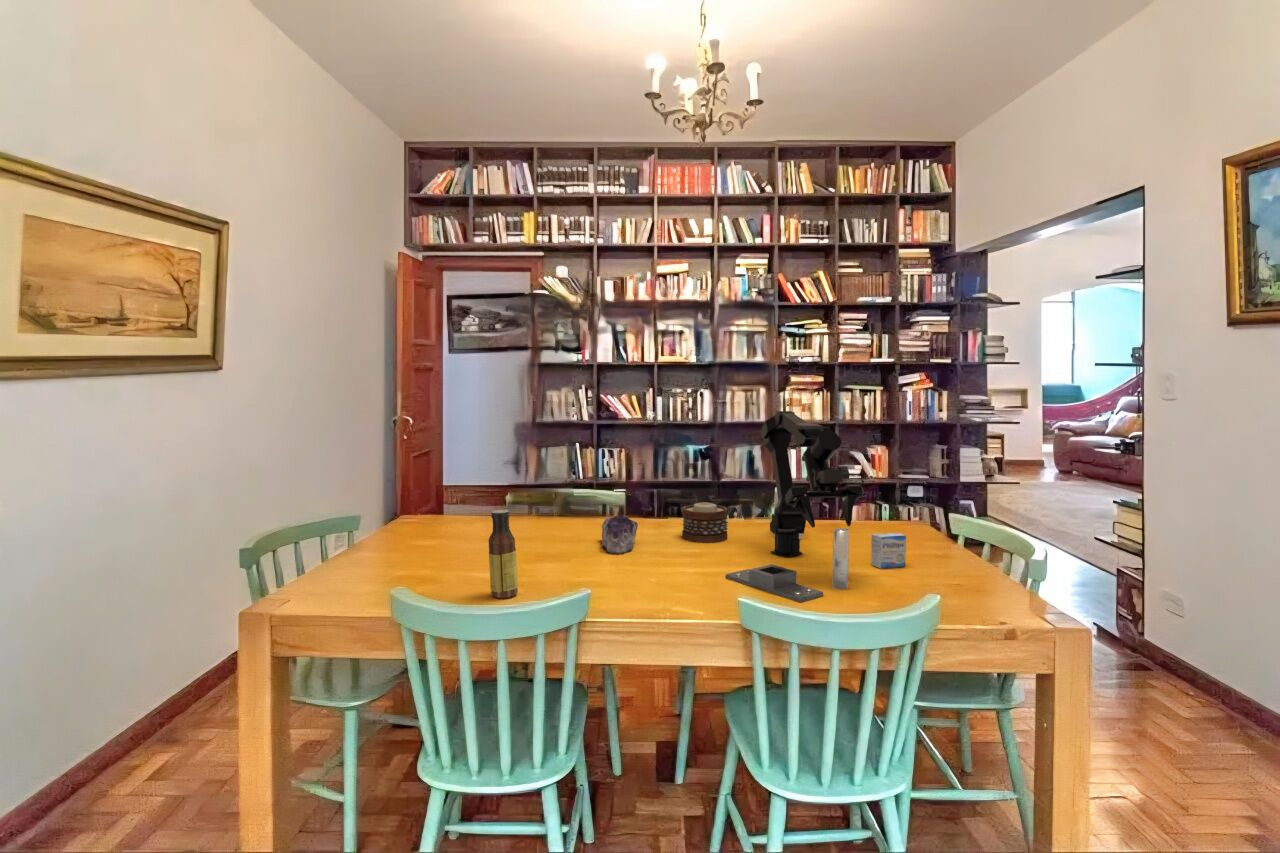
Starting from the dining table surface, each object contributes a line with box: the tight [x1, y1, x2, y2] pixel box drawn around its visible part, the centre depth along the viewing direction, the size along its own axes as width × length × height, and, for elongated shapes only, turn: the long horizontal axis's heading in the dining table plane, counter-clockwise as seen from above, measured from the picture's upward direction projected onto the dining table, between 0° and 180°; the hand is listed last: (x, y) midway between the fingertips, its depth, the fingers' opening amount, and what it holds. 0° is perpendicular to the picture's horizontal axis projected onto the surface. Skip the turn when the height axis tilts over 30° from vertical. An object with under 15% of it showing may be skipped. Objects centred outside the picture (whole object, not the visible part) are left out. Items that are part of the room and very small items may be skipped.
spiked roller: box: [681, 501, 730, 544], centre depth 222 cm, size 15×11×15 cm
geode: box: [601, 514, 639, 556], centre depth 210 cm, size 20×12×10 cm, turn 2°
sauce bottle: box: [487, 509, 519, 599], centre depth 163 cm, size 7×6×20 cm
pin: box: [831, 527, 850, 590], centre depth 170 cm, size 4×4×14 cm
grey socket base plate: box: [725, 564, 824, 603], centre depth 171 cm, size 24×8×4 cm, turn 37°
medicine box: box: [870, 532, 907, 570], centre depth 189 cm, size 8×4×9 cm, turn 105°
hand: (831, 526), depth 172 cm, fingers open, 9 cm apart
